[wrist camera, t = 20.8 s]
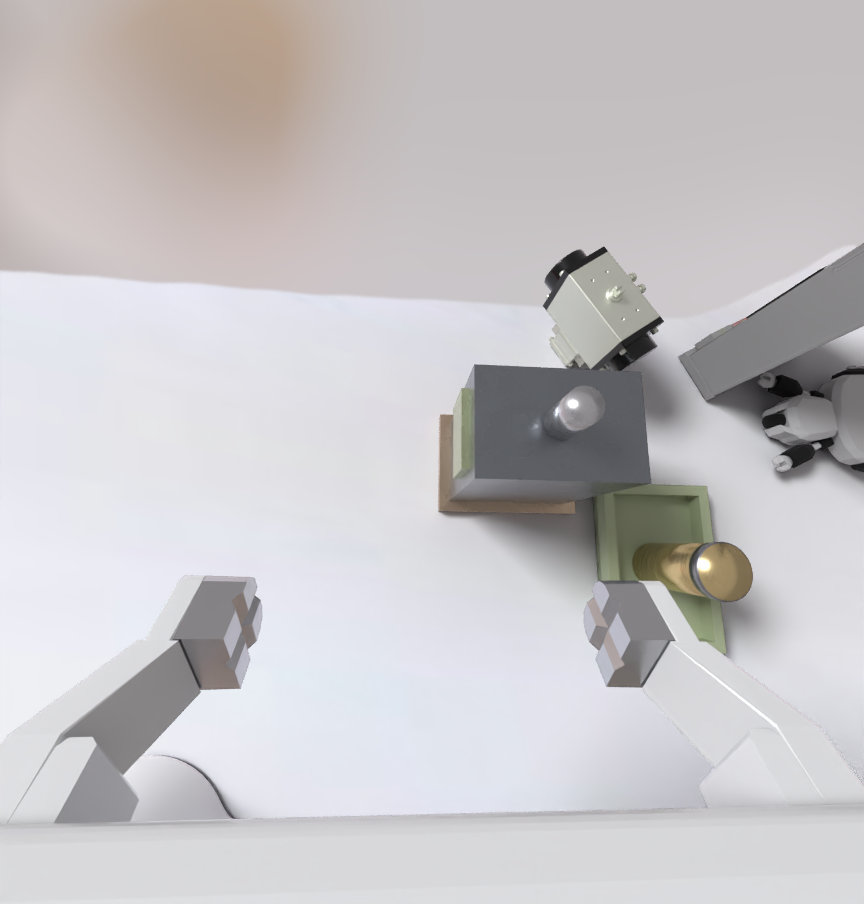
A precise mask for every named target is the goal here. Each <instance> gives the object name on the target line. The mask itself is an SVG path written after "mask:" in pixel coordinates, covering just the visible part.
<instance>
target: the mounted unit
mask: <svg viewBox="0 0 864 904" xmlns="http://www.w3.org/2000/svg"><path fill="white" fill-rule="evenodd" d="M650 483H651V478H650V467H649V456H648V444H647V433H646V422H645V411H644V400H643V388H642V377H641V372H630V371H608V370H586V369H563V368H541V367H519V366H497V365H475V364H474V367H473V369H472V371H471V374H470V376H469V379H468V381H467V384H466V386H465V388H462V389H461V391H460V394H459V396H458V399H457V401H456V404H455V406H454V411H453V415H440V418H439V484H438V511H451V512H495V513H539V514H575V501H578V500H582V499H586V498H591V497H595V496H599V495H604V494H608V493H612V492H616V491H621V490H625V489H629V488H633V487H638V486H642V485H646V484H650Z"/></svg>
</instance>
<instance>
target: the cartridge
mask: <svg viewBox="0 0 864 904" xmlns="http://www.w3.org/2000/svg"><path fill="white" fill-rule="evenodd" d="M632 567H633V571H634V573H635V575H636V577H637V578H638V579H639V581H660V582H661V583H663V584H664V585H665V587H666V588H667V590H671V591H676V592H681V593H687V594H692V595H698V596H703V597H708V598H710V599H713V600H718V601H723V602H734V601H737V600H740V599H741V598H743V597H744V596H745V595H746V594H747V593H748V591H749V590H750V588H751V585H752V580H753V573H752V567H751V564H750V562H749V560H748V558H747V557H746V555H745V554H744V553H743V552H742V551H741V550H740V549H739V548H737V547H736V546H734V545H732V544H729V543H725V542H708V543H646V544H643V545H641V546H640V547H638V548H637V550H636V551H635V553H634V555H633V558H632Z"/></svg>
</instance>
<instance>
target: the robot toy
mask: <svg viewBox="0 0 864 904" xmlns="http://www.w3.org/2000/svg"><path fill="white" fill-rule="evenodd" d="M846 369H847V370H845V371H842V372H840V373H838V374H836V375H834V376H832V380H830V381H828V382H827V383H825V384H823V385H822V386H821V388H820V390H819V392H818V391H815V390H814V391H810V392H807V391H804V390H803V389H802V387H801V386H800V384H799V383H798V381H796V380H794V379H791V378H789V377H786V376H784V375H779V376H776V377H775V376H774V375H773V374H772V373H766V372H764V373H762V374H760V376H759V377H760V379H758V385H760V386H761V387H763V388H768V392H770V393H772V394H775V395H777V396H780V397H793V398H790V399H788V400H785V401H783V402H780V403H778V404H776V405H775V406H774V407H773V408H771V409H768V410H766V411H764V413H763V416H762V417H763V419H762V424H763V426H764V427H765V428H769V429H766V430H764V431H765V432H766V434H767V435H768V436H769V437H771V438H774V439H777V440H779V441H781V442H782V443H784V444H787V445H791V446H792V445H797V446H795V447H793V448H791V449H789V450H787V451H785V452H783V453H782V454H780V455H778V456H776V457H775V458H774V459H773V460H772V463H773V465H778V464H780V465H781V466H780V467H778V468H776V469H777V471H779V472H785V471H788V470H789V469H790V468H795V467H797V466H799V465H801V464H802V463H804V462H806V461H808V460H810V459H812V458H813V456H814V453H815V450H824V449H826V448H828V449H829V451H830V452H831V454H832V455H833V456H834V457H835V458H836V459H837V460H838V461H839V462H841V463H843V464H848V465H850V466H851V467H852V469H855V470H858V471H862V472H864V366H860V367H856V366H849V367H848V368H846ZM810 442H811V443H812V444H811V445H800V444H806V443H810Z"/></svg>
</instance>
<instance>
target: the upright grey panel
mask: <svg viewBox="0 0 864 904" xmlns="http://www.w3.org/2000/svg"><path fill="white" fill-rule="evenodd" d="M862 326H864V243H863V244H861V245H860V246H858V247H856V248H855V249H853V250H852V251H850V252H849V253H847V254H846V255H844V256H843V257H841V258H839V259H838V260H836V261H835V262H833V263H832V264H830V265H828V266H826V267H824V268H822V269H820V270H818V271H817V272H815V273H814V274H812V275H811V276H809V277H808V278H806V279H805V280H803V281H801V282H800V283H798V284H797V285H795V286H794V287H792V288H791V289H789V290H788V291H786V292H785V293H783V294H781V295H780V296H778V297H777V298H775V299H774V300H772V301H771V302H769V303H768V304H766V305H765V306H763V307H762V308H760V309H758V310H757V311H755V312H754V313H752V314H751V315H749V316H748V317H746V318H744V319H742V320H740V321H738V322H736V323H734V324H732V325H728V326H726V327H724V328H722V329H720V330H718V331H716V332H714V333H712V334H710V335H709V336H707V337H706V338H704V339H703V340H701V341H700V342H698V343H697V344H695V348H693V349H691V350H689V351H687V352H685V353H684V354H682V355H681V356H679V359H680V361H681V363H682V364H683V365H684V366H685V368H686V370H687V371H688V373H689V374H690V376H691V377H692V379H693V381H694V382H695V384H696V385H697V387H698V388H699V390H700V392H701V393H702V395H703V397H704V398H705V400H706V401H707V400H709V399H711V398H713V397H715V396H717V395H719V394H721V393H723V392H725V391H727V390H729V389H731V388H732V387H734V386H736V385H738V384H740V383H743V382H745V381H747V380H749V379H751V378H753V377H755V376H758V375H760V374H762V373H764V372H766V371H768V370H770V369H773V368H775V367H777V366H779V365H781V364H783V363H785V362H788V361H790V360H792V359H794V358H796V357H798V356H800V355H802V354H805V353H807V352H809V351H811V350H813V349H815V348H817V347H820V346H822V345H824V344H826V343H828V342H830V341H832V340H835V339H837V338H839V337H841V336H843V335H845V334H847V333H850V332H852V331H854V330H856V329H858V328H860V327H862Z"/></svg>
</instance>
